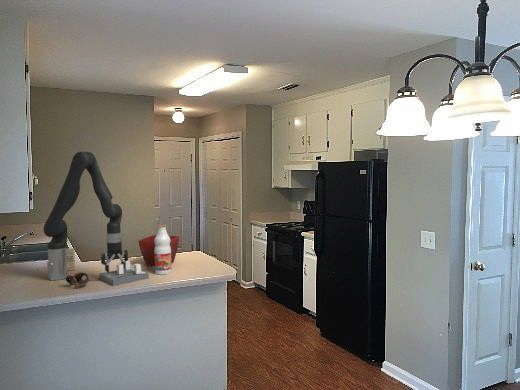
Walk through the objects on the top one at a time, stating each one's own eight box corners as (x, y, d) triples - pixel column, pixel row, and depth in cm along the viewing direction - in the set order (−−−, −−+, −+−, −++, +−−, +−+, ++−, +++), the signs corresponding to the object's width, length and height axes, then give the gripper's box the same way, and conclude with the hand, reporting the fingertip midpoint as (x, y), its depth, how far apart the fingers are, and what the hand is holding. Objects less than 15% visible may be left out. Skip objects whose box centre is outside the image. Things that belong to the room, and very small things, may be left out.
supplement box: (59, 271, 252) (58, 250, 251) (60, 269, 257) (59, 248, 256) (74, 270, 254) (73, 249, 253) (75, 268, 259) (74, 247, 258)
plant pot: (166, 269, 255) (165, 241, 254) (138, 267, 260) (137, 240, 258) (180, 261, 273) (179, 236, 272) (154, 260, 278) (153, 235, 277)
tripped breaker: (119, 274, 231) (118, 265, 230) (117, 273, 233) (116, 264, 233) (123, 273, 232) (123, 264, 232) (121, 272, 235) (120, 263, 234)
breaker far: (126, 270, 240) (125, 261, 240) (123, 269, 242) (123, 260, 242) (130, 269, 242) (130, 260, 241) (128, 268, 244) (127, 259, 244)
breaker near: (136, 274, 231) (136, 265, 230) (134, 273, 233) (133, 264, 232) (140, 273, 232) (140, 264, 232) (138, 272, 234) (138, 263, 234)
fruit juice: (174, 271, 248) (173, 224, 246) (165, 275, 239) (163, 226, 237) (161, 270, 252) (160, 223, 250) (151, 274, 243) (150, 225, 241)
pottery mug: (90, 283, 227) (92, 272, 224) (85, 296, 219) (86, 284, 215) (67, 279, 225) (68, 267, 221) (61, 291, 217) (62, 280, 213)
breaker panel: (113, 285, 220) (113, 280, 220) (99, 278, 235) (99, 273, 234) (148, 278, 234) (148, 273, 234) (133, 272, 248) (133, 267, 248)
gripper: (104, 243, 222) (105, 274, 223) (129, 240, 232) (130, 269, 233) (98, 242, 228) (99, 271, 229) (123, 238, 237) (124, 266, 238)
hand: (115, 270), depth 231 cm, fingers open, 8 cm apart
